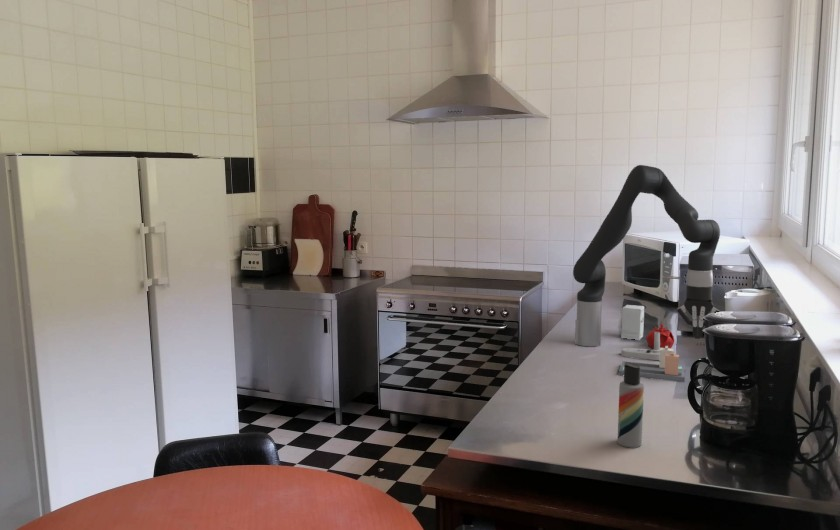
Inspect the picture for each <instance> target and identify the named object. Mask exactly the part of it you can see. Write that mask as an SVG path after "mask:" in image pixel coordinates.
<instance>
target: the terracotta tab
mask: <svg viewBox="0 0 840 530" xmlns="http://www.w3.org/2000/svg"><path fill="white" fill-rule="evenodd" d="M679 363H680V354H675V352H674V351H673V352H671V354H666V356H665V374H669V375H678V367H679V365H680V364H679Z"/></svg>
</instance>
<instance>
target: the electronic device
mask: <svg viewBox="0 0 840 530" xmlns="http://www.w3.org/2000/svg"><path fill="white" fill-rule="evenodd" d="M620 354H621V356H622V357H624V356H625V358H630V357H633V358H632V359H638V358H639V360H648V361H659V360H660V332H654V349H653V348H652V349H645V348H633V347H624V348H621V353H620Z"/></svg>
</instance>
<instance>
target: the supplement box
mask: <svg viewBox="0 0 840 530" xmlns="http://www.w3.org/2000/svg"><path fill="white" fill-rule="evenodd" d="M644 322H645V306H643V305H633V304H626V305H625V306H623V307H622V309H621V331H620V333H621V335H620V339H623V338H627V339H626V340H631V339H635V340H634V341H641V339H642V338H643V337H644Z"/></svg>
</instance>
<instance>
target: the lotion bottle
mask: <svg viewBox="0 0 840 530" xmlns="http://www.w3.org/2000/svg"><path fill="white" fill-rule="evenodd" d="M640 370H641V368H640V367H639V366H637V365H635V364H626V365H625V366H624V376H623V381H620V382H619V387H618V389H619V390H618V392H619V393H618V413H617V414H618V419H617V443H618V444H619V445H620V446H622V447H625V448H632V449H634V448H639V447H641V445H642V441H643V426H644V425H643V422H644V421H643V419H644V396H645V395H644V394H645V391H644V390H645V385H644V383H642V382H641V377H640Z"/></svg>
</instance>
